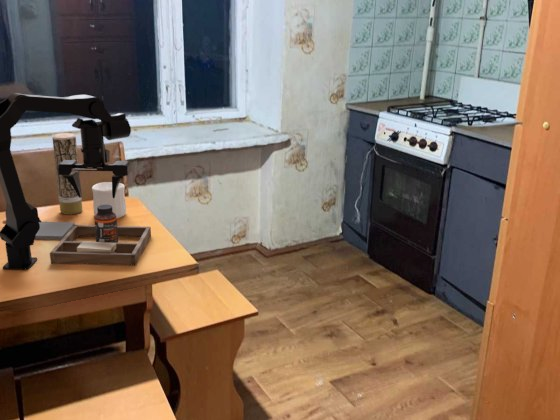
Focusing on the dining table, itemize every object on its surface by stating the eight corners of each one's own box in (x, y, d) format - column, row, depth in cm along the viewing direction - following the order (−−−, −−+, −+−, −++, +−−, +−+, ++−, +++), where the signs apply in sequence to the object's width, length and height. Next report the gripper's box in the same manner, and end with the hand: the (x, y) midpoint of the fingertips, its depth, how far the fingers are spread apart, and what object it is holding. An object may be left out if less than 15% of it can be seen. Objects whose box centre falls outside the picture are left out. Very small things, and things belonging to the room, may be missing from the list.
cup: (91, 212, 191) (89, 183, 188) (123, 208, 195) (121, 180, 192) (96, 221, 183) (93, 192, 180) (129, 217, 187) (127, 188, 184)
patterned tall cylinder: (75, 216, 187) (68, 138, 179) (56, 214, 189) (47, 137, 180) (86, 209, 194) (79, 133, 185) (67, 207, 195) (59, 132, 186)
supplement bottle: (105, 250, 163) (102, 211, 160) (91, 244, 167) (88, 206, 163) (122, 243, 168) (120, 206, 164) (109, 238, 171) (106, 201, 167)
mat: (62, 239, 170) (62, 236, 169) (23, 238, 169) (23, 235, 169) (74, 225, 180) (74, 222, 180) (38, 224, 180) (38, 221, 179)
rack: (135, 265, 155) (134, 255, 154) (50, 263, 155) (49, 253, 154) (151, 236, 174) (150, 226, 172) (75, 234, 173) (74, 224, 172)
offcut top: (110, 255, 155) (110, 249, 155) (77, 252, 156) (76, 247, 155) (116, 248, 159) (116, 243, 159) (83, 246, 160) (83, 240, 159)
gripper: (133, 136, 167) (136, 189, 173) (66, 135, 166) (71, 188, 172) (125, 145, 157) (129, 201, 162) (53, 144, 156) (59, 200, 161)
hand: (97, 197), depth 165 cm, fingers open, 9 cm apart
